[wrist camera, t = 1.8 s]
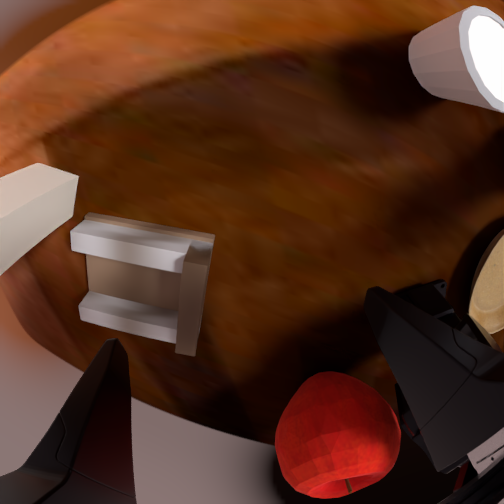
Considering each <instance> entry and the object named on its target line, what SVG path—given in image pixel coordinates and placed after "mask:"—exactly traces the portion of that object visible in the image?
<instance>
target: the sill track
mask: <svg viewBox="0 0 504 504" xmlns="http://www.w3.org/2000/svg"><path fill="white" fill-rule="evenodd" d="M70 233H71V248H72V251H76V252H81V253H85V254H86V262H87V274H88V284H89V292H88V293H87V295H86V296H85V297H84V299H83V300H82V302H81V303H80V304H79V312H80V318H81V320H83V321H86V322H90V323H93V324H97V325H100V326H104V327H108V328H111V329H115V330H119V331H123V332H127V333H131V334H135V335H140V336H144V337H148V338H153V339H157V340H162V341H167V342H171V343H176V350H175V353H179V354H185V355H190V356H195V353H196V347H197V341H198V336H199V331H200V326H201V319H202V312H203V305H204V299H205V292H206V286H207V280H208V273H209V267H210V261H211V255H212V249H213V244H214V238H215V235H214V234H208V233H203V232H197V231H192V230H186V229H181V228H175V227H170V226H164V225H159V224H153V223H147V222H142V221H136V220H130V219H125V218H119V217H113V216H108V215H102V214H96V213H90V212H89V213H88V214H87V215H85V220H84V221H82V222H81V223H80V224H79V225H77V226H76V227H75V228H74V229H72V230H71V231H70Z"/></svg>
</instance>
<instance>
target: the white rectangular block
mask: <svg viewBox="0 0 504 504" xmlns="http://www.w3.org/2000/svg"><path fill="white" fill-rule="evenodd" d="M78 178H79V176H77V175H74V174H71V173H68V172H65V171H62V170H59V169H56V168H53V167H50V166H47V165H44V164H41V163H36V164H33V165H31V166H28V167H25V168H23V169H20V170H18V171H15V172H13V173H10V174H8V175H6V176H3V177H1V178H0V276H1V275H2V274H3V273H4V272H5V271H6V270H7V269H8V268H9V267H10V266H12V265H13V264H14V263H15V262H16V261H17V260H18V259H20V258H21V257H22V256H23V255H24V254H25V253H27V252H28V251H29V250H30V249H31V248H33V247H34V246H35V245H36V244H37V243H39V242H40V241H41V240H42V239H44V238H45V237H46V236H47V235H49V234H50V233H51V232H53V231H54V230H55V229H56V228H58V227H59V226H60V225H62V224H63V223H64V222H66V221H67V220H68V219H70V218H71V217H73V209H74V202H75V196H76V189H77V183H78Z"/></svg>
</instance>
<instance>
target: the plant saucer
mask: <svg viewBox="0 0 504 504" xmlns="http://www.w3.org/2000/svg"><path fill="white" fill-rule="evenodd" d="M469 315H470V316H471V317H473V318H474V319H475V320H476V321H477V322H478V323H479V324H480V325H481V326H482V327H483V328H485V330H486V331H487V332H488V333H489V334H492V333H495V332H497V331H500V330H501V329H503V328H504V229H503V230H502V231H501V232H499V233H498V234H497V236H496V237H495V238H494V239H493V240H492V241H491V243H490V244H489V245H488V247H487V248H486V250H485V252H484V254H483V255H482V257H481V259H480V261H479V264H478V266H477V268H476V271H475V274H474V277H473V281H472V286H471V291H470V298H469Z"/></svg>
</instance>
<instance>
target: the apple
mask: <svg viewBox="0 0 504 504" xmlns="http://www.w3.org/2000/svg"><path fill="white" fill-rule="evenodd" d="M400 436H401V431H400V428H399V424H398V421H397V418H396V415H395V414H394V412H393V410H392V408H391V406H390V405H389V404H388V403H387V402H386V401H385V400H384V398H383V397H382V396H381V395H380V394H379V393H378V392H377V391H376V390H375V389H374V388H372V387H370V386H369V385H367V384H365V383H364V382H362V381H360V380H359V379H357V378H355V377H352V376H349V375H346V374H344V373H339V372H334V371H327V372H319V373H317V374H315V375H313V376H311V377H309V378H308V379H307V380H306V381H305V382H304V383H303V384H302V385H301V386H300V388H299V389H298V390H297V392H296V393H295V394H294V395H293V397H292V398H291V400H290V402H289V403H288V405H287V407H286V408H285V410H284V411H283V413H282V416H281V418H280V420H279V423H278V426H277V430H276V436H275V448H276V453H277V456H278V460H279V463H280V467H281V470H282V474H283V476H284V477H285V479H286V480H287V482H288V483H289V484H290V485H291V486H292V487H293V488H294V489H295V490H296V491H298V492H301V493H303V494H306V495H309V496H311V497H316V498H336V497H341V496H344V495H347V494H350V493H353V492H355V491H357V490H360V489H362V488H364V487H366V486H369V485H371V484H373V483H375V482H377V481H379V480H380V479H381V478H383V477H384V476H385V475H386V474H387V473H388V472H389V471H390V470H391V469H392V467H393V465H394V463H395V461H396V459H397V456H398V453H399V447H400Z"/></svg>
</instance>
